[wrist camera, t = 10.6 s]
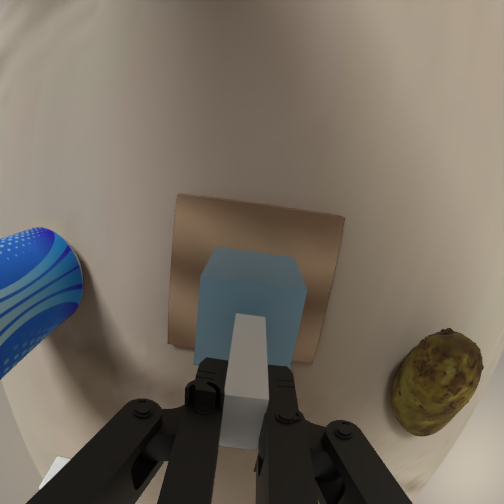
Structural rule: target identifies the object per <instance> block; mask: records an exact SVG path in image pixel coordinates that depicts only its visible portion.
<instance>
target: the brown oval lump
mask: <svg viewBox="0 0 504 504" xmlns="http://www.w3.org/2000/svg"><path fill="white" fill-rule="evenodd" d="M482 370H483V364H482V356H481V353H480V349H479V348H478V346H477V345H476V343H474V342H473V341H472V340H470V339H469V338H467V337H466V336H464V335H463V334H461V333H458V332H454V331H453V330H452V329H451V328H447V329H446V330H444V329H442V330H441V332H437V333H435V334H432V335H429V336H428V337H425V339H422V340H421V341H420V343H419V344H418V345H417V346H416V347H415V348H413V349H412V350H411V352H410V353H409V354H408V355H407V357H406V359H404V360H403V362H402V364H401V366H400V370H399V373H398V374H397V376H396V378H395V380H394V383H393V386H392V393H391V396H392V407H393V411H394V414H395V416H396V418H397V420H398V421H399V423H400V424H401V425H402V426H403V427H404V428H405V429H406V430H407V431H409V432H410V433H412V434H414V435H416V436H428V435H431V434H434V433H436V432H437V431H439V430H440V429H442V428H443V427H444V426H445V425H446V424H447V423H448V422H449V421H451V419H452V418H453V417H454V416H455V415H456V414H457V413H458V412H459V411H460V410H461V409H462V408H463V407H464V406H465V405H466V404H467V403H468V402H469V400H470V398H471V397H472V396H473V394H474V392H475V390H476V388H477V386H478V383H479V380H480V376H481V372H482Z"/></svg>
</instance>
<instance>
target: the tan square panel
mask: <svg viewBox="0 0 504 504" xmlns="http://www.w3.org/2000/svg"><path fill="white" fill-rule="evenodd" d="M344 220H345V218H344V217H342V216H337V215H331V214H325V213H319V212H313V211H306V210H300V209H293V208H286V207H280V206H273V205H266V204H258V203H251V202H244V201H236V200H228V199H220V198H212V197H204V196H195V195H187V194H178V195H177V201H176V211H175V221H174V233H173V245H172V259H171V275H170V293H169V316H168V344H171V345H177V346H183V347H188V348H195V340H196V326H197V313H198V300H199V289H200V277H201V274H202V272H203V270H204V269H205V267H206V265H207V263H208V261H209V259H210V257H211V255H212V254H213V252H214V250H215V248H216V247H221V248H229V249H236V250H243V251H251V252H258V253H266V254H273V255H280V256H288V257H294V259H295V261H296V264H297V266H298V269H299V271H300V273H301V276H302V278H303V281H304V283H305V286H306V288H307V294H306V298H305V303H304V308H303V313H302V317H301V322H300V327H299V331H298V336H297V340H296V345H295V349H294V353H293V358H292V361H299V362H312V363H313V360H314V356H315V352H316V348H317V344H318V340H319V337H320V333H321V328H322V324H323V320H324V316H325V312H326V308H327V303H328V299H329V295H330V290H331V286H332V281H333V276H334V272H335V267H336V262H337V257H338V252H339V247H340V242H341V236H342V231H343V226H344Z"/></svg>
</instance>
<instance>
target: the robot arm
mask: <svg viewBox="0 0 504 504" xmlns="http://www.w3.org/2000/svg"><path fill="white" fill-rule="evenodd" d="M258 445H259V453H258V456H257V460H256V464H255V468H254V472H256V504H318V501H319V503H320V504H412V502H411V501H410V499H409V498H408V497H407V495H406V494H405V492H404V491H403V490H402V488H401V487H400V485H399V484H398V483H397V481H396V480H395V478H394V477H393V475H392V474H391V473H390V471H389V470H388V468H387V467H386V466H385V464H384V463H383V461H382V460H381V458H380V457H379V456H378V454H377V453H376V451H375V450H374V448H373V447H372V446H371V444H370V443H369V441H368V440H367V439H366V437H365V436H364V434H363V433H362V431H361V430H360V429H359V428H358V427H357V426H356V425H355V424H353V423H351V422H349V421H344V420H336V421H333V422H330V423H329V424H328V425H327V427H323V426H320V425H316V424H313V423H310V422H309V421H307V420H305V418H304V416H303V414H302V413H301V412H300V411H299V409H298V403H297V397H296V390H295V384H294V378H293V373H292V372H291V371H290V369H289V368H288V367H287V366H278V365H268V364H267V342H266V321H265V317H262V316H254V315H246V314H239V313H236V316H235V323H234V329H233V336H232V343H231V349H230V356H229V360H222V359H215V358H208V357H206V358H205V359H204V360H203V361H201V362H200V364H199V367H198V372H197V374H196V378H195V380H193V381H191V382H190V383H188V384H187V386H186V387H185V405H183V406H181V407H178V408H174V409H161V407H160V406H159V405H158V404H157V403H156V402H154V401H152V400H149V399H135V400H131V401H130V402H128V403H127V404H126V405H125V406H124V407H123V408H122V409H121V410H120V411H119V412H118V413H117V414H116V415H115V416H114V417H113V418H112V419H111V420H110V421H109V422H108V423H107V424H106V425H105V426H104V427H103V428H102V429H101V430H100V431H99V432H98V433H97V434H96V435H95V436H94V437H93V438H92V439H91V440H90V441H89V442H88V443H87V444H86V445H85V446H84V447H83V448H82V449H81V450H80V451H79V452H78V453H77V454H76V455H75V456H74V457H73V458H72V459H71V460H70V461H69V462H68V463H67V464H66V465H65V466H64V467H63V468H62V469H61V470H60V471H59V472H58V473H57V474H56V475H55V476H54V477H52V478H51V479H50V480H49V481H48V482H47V483H46V484H45V485H44V486H43V487H42V488H41V489H40V490H39V491H38V492H37V493H36V494H35V495H34V496H33V497H32V498H31V499H30V500H29V501H28V502H27V503H26V504H135V502H136V501H137V500H138V498H139V497H140V495H141V494H142V493H143V491H144V490H145V488H146V487H147V486H148V484H149V483H150V481H151V480H152V478H153V477H154V476H155V474H156V473H157V471H158V470H159V468H160V467H161V466H162V464H163V462H164V461H169V462H168V466H167V469H166V473H165V477H164V480H163V484H162V488H161V491H160V495H159V499H158V502H157V504H211V502H212V494H213V486H214V478H215V471H216V463H217V455H218V447H219V446H223V447H231V448H239V449H249V450H257V449H258Z"/></svg>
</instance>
